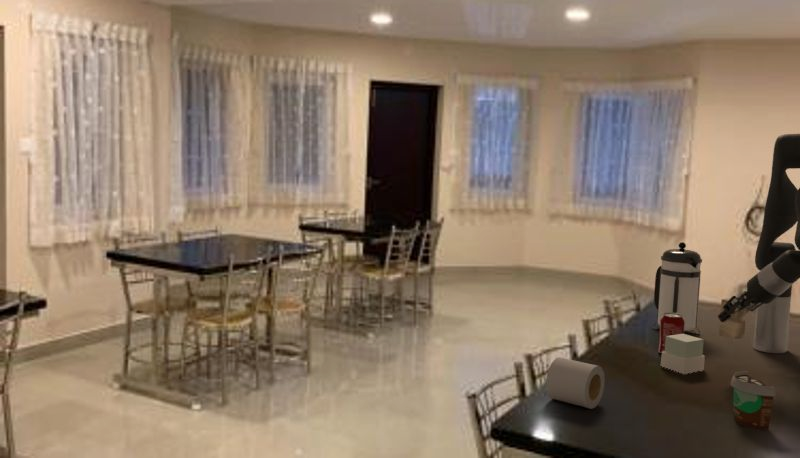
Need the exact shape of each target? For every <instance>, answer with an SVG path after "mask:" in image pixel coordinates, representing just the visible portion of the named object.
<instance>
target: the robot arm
mask: <svg viewBox="0 0 800 458" xmlns="http://www.w3.org/2000/svg"><path fill="white" fill-rule="evenodd" d="M789 169H793V170H795V169H796V170H797V169H800V133H787V134H785V133H784V134H781V135H778V136H777V138H776V140H775V141H774V147H773V153H772V164H771V174H770V176H771V177H770V183H769V187H768V193H767V195H766V196H767V197H766V201H765V206H764V213H763V221H762V227H761V228H762V229H761V231H760V236H759V239H758V243H757V247H756V251H755V255H754V259H755V260H754V262H755V263H754V264H755V268H756V269H757V270H758V271H759V272H757V273H756V274H755V275H754V276H752V277H751V278H750V279H749V280H748V281H747V282H746V290H744V291H743V292H741V293H740V294H739V296H736V295H733V296H731V297H729V298H730V300H729V301H728V302H727V303H726V304H725V305H724V306H723V308H724V311H723V312H722V313H721V312H720V313H719V314H717V318H718V319H719V322H720V321H721V322H725V321H726V320H727V319H729V318H730V317H731V316H732V315H734V314H735V313H737V312H738V311H739V312H742V311H743V310H745V309H746V314H747V313H749V312H753V311H755V322H754V323H755V324H754V335H753V349H754V350H756V351H759V352H764V353H770V354H785V353H787V351H788V350H789V340H790V328H791V319H790V316H791V315H790V314H791V313H790V311H791V304H792V303H791V301H792V300H791V299H792V292H793V291H792V289H793V284H794V283H796V282H797V281H799V279H800V187H799V188H798V187H797V186H796V185H795V184H794V182H793V181H792V180H791V179H790V178H789V176H788V174H787V172H786V171H787V170H789ZM795 225H796V227H795V235H794V244H795V245H794V244H793V243H791V242H779V241H776V240H777V239H778V238H779V237H781V236H783V234H785V233H786V232H788V231H789V230H790V229H792V228H793V227H794V226H795ZM796 248H797V249H798V250H797V249H796ZM740 306H741V307H742V308H740ZM735 309H736V310H735Z"/></svg>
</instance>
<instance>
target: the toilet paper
mask: <svg viewBox="0 0 800 458" xmlns="http://www.w3.org/2000/svg"><path fill="white" fill-rule="evenodd" d="M605 379H606V378H605V372H604V370H603V368H602V367H601V366H600V365H597V364H593V363H592V364H591V363H587V362H582V361H578V360H573V359H569V358H564V357H559V356H558V357H556V358H555V359H553V361H552V362H551V364H550V366H549V367H548V370H547V373H546V379H545V392H546V394H547V396H548V397H549V398H550V399H552V400H556V401H559V402H564V403H567V404H571V405H575V406H579V407H584V408H587V409H590V410H591V409H594V408H596V407H597V406H598V405H599V403H600V401H601V399H602V396H603V393H604V390H605Z"/></svg>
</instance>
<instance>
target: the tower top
mask: <svg viewBox="0 0 800 458" xmlns="http://www.w3.org/2000/svg"><path fill="white" fill-rule="evenodd" d="M704 343H705V342H704V339H703V338H700V337H696V336H693V335H689V334H685V333H684V334H677V335H670V336H666V341H665V352H666V353H670V354H673V355H676V356H679V357H683V358H690V357H696V356H702V355H704V354H703V353H704Z"/></svg>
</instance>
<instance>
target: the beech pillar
mask: <svg viewBox="0 0 800 458" xmlns="http://www.w3.org/2000/svg"><path fill="white" fill-rule="evenodd" d="M730 298H731V297H729V298H722V299H721V303H720V313H722V312H723V311H724V308H723V306H724V305H725V304H726V303H727V302H728V301H729V300H730ZM740 308H742V307H741V306H740ZM735 310H736V309H735ZM746 316H747V313H746V309H745V310H743V311H742V312H739V311H738V312H737V313H735V314H734V315H732V316H731V317H730V318H729V319H727V320H726V321H725V322H721V321H720V320H719V327H718V328H719V329H718V331H719V332H718V336H719V337H722V338H725V339H730V340H732V341H733V340H737V339H744V338H745V333H746V318H747V317H746Z"/></svg>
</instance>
